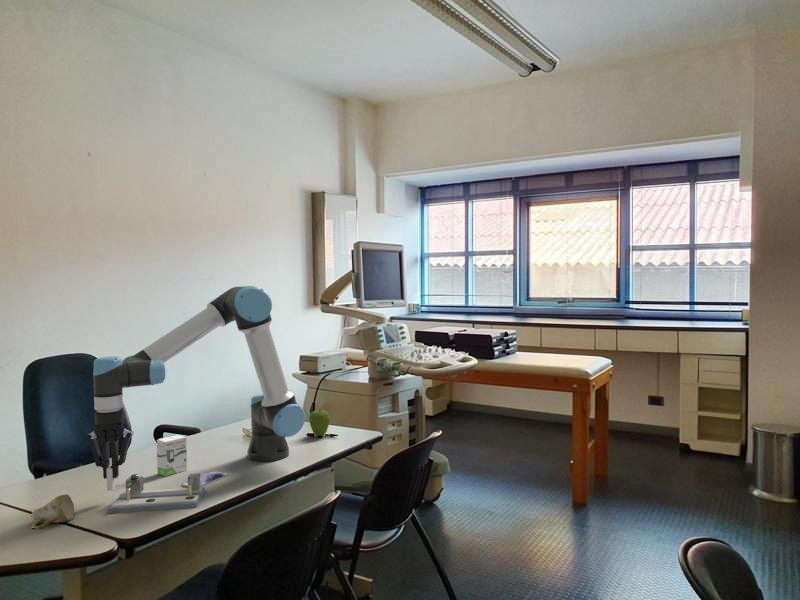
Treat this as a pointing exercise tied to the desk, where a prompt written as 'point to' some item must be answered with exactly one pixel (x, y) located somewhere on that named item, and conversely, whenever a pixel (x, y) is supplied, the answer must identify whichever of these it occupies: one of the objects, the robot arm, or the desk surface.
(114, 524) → the desk surface
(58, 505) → the beige tapered chunky piece
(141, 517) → the desk surface
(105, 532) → the desk surface
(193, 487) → the board
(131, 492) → the sliding leg
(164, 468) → the ink box
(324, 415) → the apple
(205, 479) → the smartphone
